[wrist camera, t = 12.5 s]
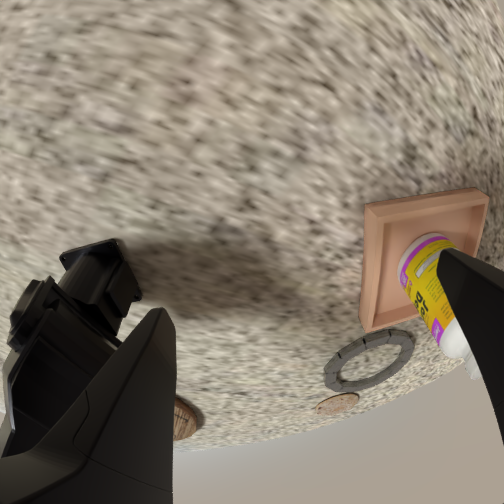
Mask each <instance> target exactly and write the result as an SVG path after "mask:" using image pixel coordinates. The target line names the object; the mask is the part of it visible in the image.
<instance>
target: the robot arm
mask: <svg viewBox="0 0 504 504" xmlns="http://www.w3.org/2000/svg"><path fill="white" fill-rule="evenodd" d="M109 244H111V245H112V246H113V247H111V246H110V245H109ZM59 259H60V261H61V263H62V265H63V266H64V268H65V270H66V272H65V274H64V276H63V277H62V279H61V280H60V282H59V283H58V285H57V284H56V283H55V282H54V281H55V280H54V279H53V278H52V277H51V276H50V275H49V276H48V277H47V278H46V280H45V281H44V280H42V281H38V280H34V279H33V280H32V281H31V282H30V284H29V285H28V286H27V288H26V289H25V291H24V292H23V294H22V295H21V297H20V298H19V300H18V302H17V304H16V305H15V307H14V309H13V311H12V313H11V315H10V323H11V328H10V331H9V336H8V339H7V344H8V345H9V346H10V347H11V348H12V349H11V351H10V353H9V355H8V357H7V359H6V361H5V363H4V365H3V369H2V373H3V388H4V399H5V407H6V415H5V418H4V421H3V423H2V426H1V428H0V504H173V493H172V492H173V489H172V488H173V487H172V472H173V471H172V469H173V432H174V411H175V394H176V379H177V364H176V330H175V326H174V324H173V322H172V320H171V318H170V316H169V315H168V313H167V311H166V309H165V308H163V307H160V308H153V309H151V310H150V311H149V312H148V313H147V314H146V316H145V317H144V318H143V319H142V320H141V321H140V323H139V324H138V325H137V326H136V327H135V329H134V330H133V331H132V332H131V333H130V334H129V336H128V337H127V338H126V339H125V340H124V342H122V341H120V340H119V339H118V338H116V337H115V336H117V334H118V331H119V328H120V325H121V322H122V319H123V318H126V316H127V314H128V311H129V308H130V305H131V302H137V301H140V300H141V299H142V296H143V295H142V292H141V290H140V289H139V287H138V283H137V281H136V279H135V277H134V275H133V273H132V271H131V269H130V267H129V265H128V263H127V262H126V261H125V259H124V257H123V255H122V253H121V251H120V249H119V247H118V245H117V243H116V241H115V240H113V239H109V240H105V241H101V242H98V243H94V244H91V245H87V246H83V247H80V248H76V249H73V250H70V251H66V252H63V253H62V254H61V255H60V257H59ZM436 274H437V277H438V279H439V281H440V284H441V286H442V288H443V290H444V293H445V295H446V297H447V300H448V302H449V304H450V307H451V309H452V311H453V313H454V315H455V318H456V320H457V321H458V323H459V325H460V327H461V330H462V332H463V334H464V336H465V338H466V340H467V342H468V344H469V346H470V349H471V351H472V353H473V355H474V358H475V360H476V362H477V365H478V367H479V370H480V372H481V375H482V377H483V380H484V383H485V385H486V388H487V391H488V393H489V396H490V399H491V402H492V405H493V408H494V412H495V415H496V418H497V422H498V425H499V429H500V432H501V436H502V440H503V444H504V271H502V270H500V269H498V268H496V267H494V266H491V265H489V264H487V263H485V262H483V261H481V260H479V259H476V258H474V257H472V256H470V255H468V254H465V253H463V252H461V251H459V250H456V249H454V248H446V249H443V250H442V251H441V252H440V255H439V260H438V264H437V268H436ZM136 295H137V296H136ZM503 504H504V503H503Z"/></svg>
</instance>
